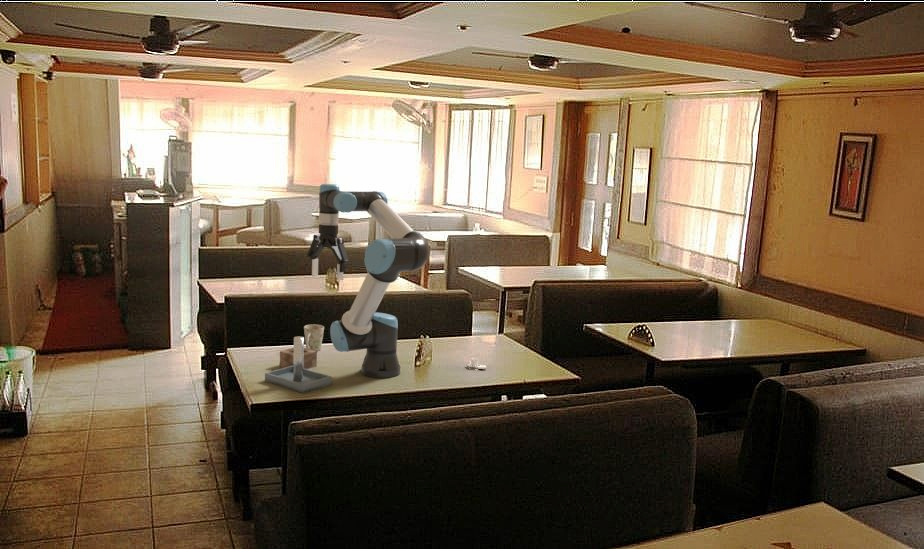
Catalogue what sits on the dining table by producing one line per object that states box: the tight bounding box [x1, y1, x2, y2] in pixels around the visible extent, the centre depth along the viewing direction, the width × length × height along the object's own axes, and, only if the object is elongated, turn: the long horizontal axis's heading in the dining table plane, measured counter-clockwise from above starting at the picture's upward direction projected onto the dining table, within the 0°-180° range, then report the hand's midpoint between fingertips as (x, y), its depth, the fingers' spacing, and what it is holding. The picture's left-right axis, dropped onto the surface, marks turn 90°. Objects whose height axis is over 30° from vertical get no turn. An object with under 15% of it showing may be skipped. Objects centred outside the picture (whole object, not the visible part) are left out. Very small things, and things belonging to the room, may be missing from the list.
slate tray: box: [264, 366, 333, 394], centre depth 278 cm, size 20×14×3 cm
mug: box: [303, 323, 325, 352], centre depth 320 cm, size 8×13×10 cm, turn 174°
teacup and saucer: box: [468, 357, 487, 370], centre depth 309 cm, size 9×8×4 cm
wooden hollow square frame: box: [279, 347, 318, 370], centre depth 298 cm, size 10×10×6 cm
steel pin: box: [293, 335, 305, 382], centre depth 277 cm, size 4×4×16 cm
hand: (327, 277), depth 299 cm, fingers open, 13 cm apart
